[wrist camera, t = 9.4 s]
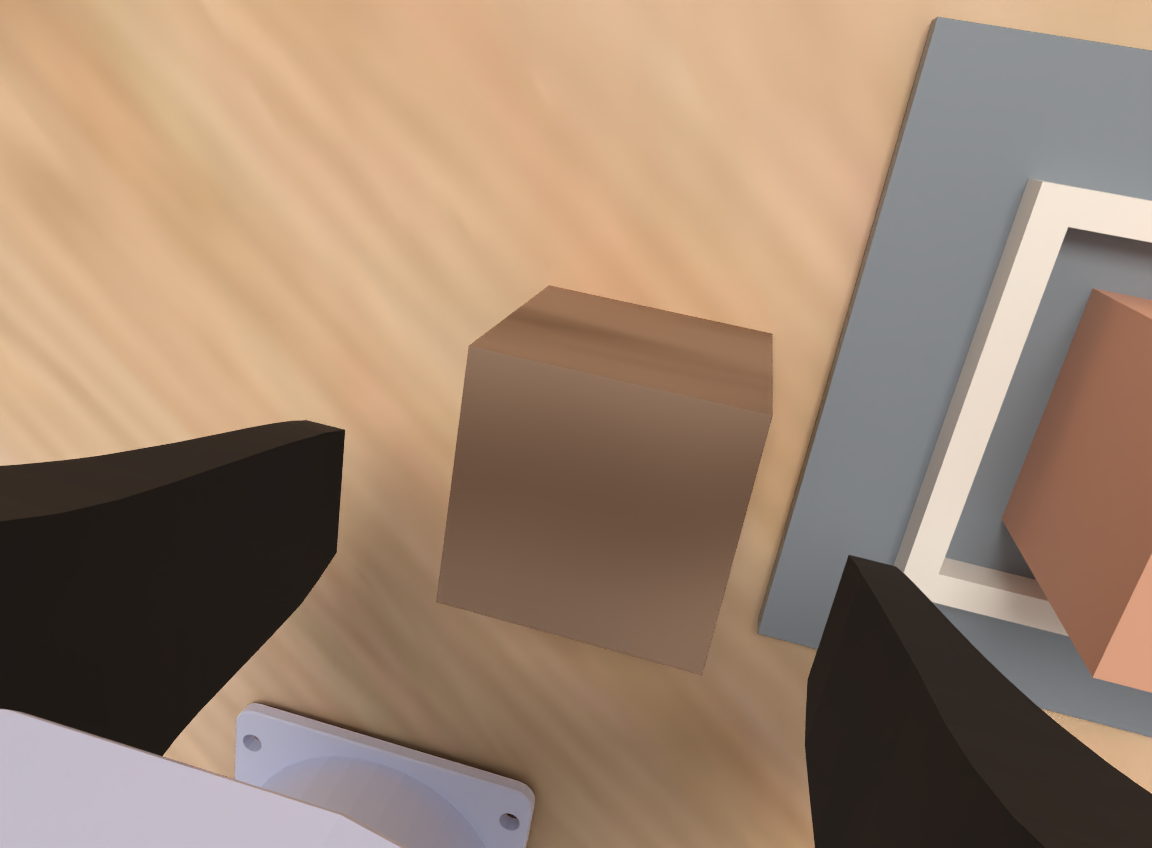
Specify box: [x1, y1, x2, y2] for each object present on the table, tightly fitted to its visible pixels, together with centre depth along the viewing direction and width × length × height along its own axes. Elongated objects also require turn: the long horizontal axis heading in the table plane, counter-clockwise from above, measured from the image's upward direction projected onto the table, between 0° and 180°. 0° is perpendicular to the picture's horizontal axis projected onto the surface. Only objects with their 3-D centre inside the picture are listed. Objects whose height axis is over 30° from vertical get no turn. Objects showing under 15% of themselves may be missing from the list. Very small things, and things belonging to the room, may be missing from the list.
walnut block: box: [436, 286, 772, 675], centre depth 15 cm, size 4×4×5 cm
